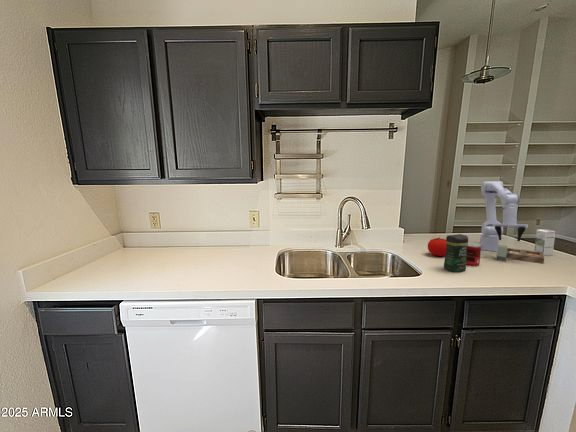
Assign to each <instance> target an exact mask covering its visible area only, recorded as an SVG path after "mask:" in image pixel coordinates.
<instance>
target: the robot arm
mask: <svg viewBox="0 0 576 432" xmlns="http://www.w3.org/2000/svg"><path fill="white" fill-rule="evenodd" d="M480 192H481V196H484V202H485V213H486V221H483V223H481V231H480V233H481V235H480V238H479V243H478V244H480V245H481V251H483V250H484V251H489V252H496V253H497V247H498V245H499V241H502V236H503V235H504V228H509V227H510V228H516V229H517V237H516V238H517V242H521V238H522V235H523V234H524V232H525V231H526V229H528V228H529V224H528V223H527V224H525V223H524V224H523V223H522V224H521V223H517V219H518V217H517V216H518V212H517V211H518V205H519V203H520V199H521V198H520V195H519V194H518V193H515V194H513V192H511V191H510V189H508V188H506V187H504V183H503V181H502V180H499V181H498V180H497V181H496V180H495V181H491V180H490V181H485V180H484V181H483V182H482V183H481V185H480ZM496 196H497V197H498V198H499V199H500V203H501V208H502V223H501V222H500V221H498V220H497V211H496V209H497V208H496V199H495V198H496Z"/></svg>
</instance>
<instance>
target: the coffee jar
mask: <svg viewBox="0 0 576 432" xmlns="http://www.w3.org/2000/svg"><path fill="white" fill-rule="evenodd" d="M445 240H446V254H445V255H444V262H443V269H445V270H446V271H448V272H453V273H457V272H458V273H459V272H465V271H466V270H467V265H466V248H467V245H468V243H469V237H468V235H465V234H461V233H458V234H448V235H447V236H446V238H445Z"/></svg>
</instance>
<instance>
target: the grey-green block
mask: <svg viewBox="0 0 576 432" xmlns="http://www.w3.org/2000/svg"><path fill="white" fill-rule="evenodd" d="M507 248H508V246H507V245H501V244H498V247H497V252H496V257H495V258H496V259H495V260H496V261H498V262H499V261H500V262H506V261H507V258H506V255H507Z"/></svg>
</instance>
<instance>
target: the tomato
mask: <svg viewBox="0 0 576 432" xmlns="http://www.w3.org/2000/svg"><path fill="white" fill-rule="evenodd" d="M427 250H428V252H429V253H430V254H431V255H433V256H437V257H438V256H439V257H440V256H441V257H443V256H445V254H446V238H441V236H439V237H436V238H431V239H429V241H428V242H427Z"/></svg>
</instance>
